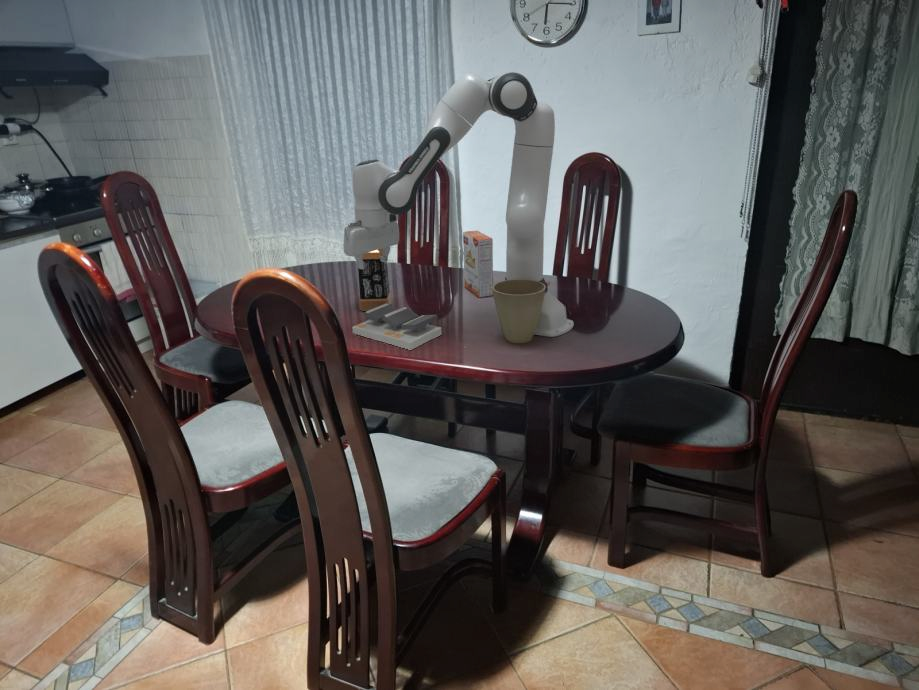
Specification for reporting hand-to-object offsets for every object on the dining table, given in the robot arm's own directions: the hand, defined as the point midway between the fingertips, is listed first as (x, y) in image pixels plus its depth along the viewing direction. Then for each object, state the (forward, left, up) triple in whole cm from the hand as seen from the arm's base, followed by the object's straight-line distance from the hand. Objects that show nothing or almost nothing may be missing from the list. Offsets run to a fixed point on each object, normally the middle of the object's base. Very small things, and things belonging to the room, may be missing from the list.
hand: (373, 265), depth 184 cm
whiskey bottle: (+15, -14, -20) cm, 29 cm away
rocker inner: (-17, 0, -15) cm, 22 cm away
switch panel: (-9, +2, -20) cm, 22 cm away
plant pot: (-41, -15, -20) cm, 48 cm away
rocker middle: (-9, 0, -15) cm, 17 cm away
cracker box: (-5, -46, -20) cm, 51 cm away
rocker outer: (-2, 0, -15) cm, 15 cm away
